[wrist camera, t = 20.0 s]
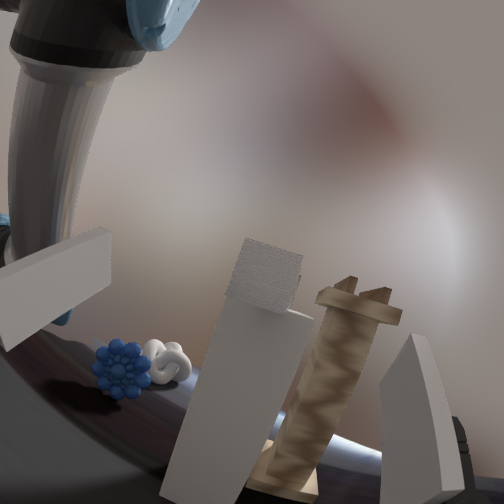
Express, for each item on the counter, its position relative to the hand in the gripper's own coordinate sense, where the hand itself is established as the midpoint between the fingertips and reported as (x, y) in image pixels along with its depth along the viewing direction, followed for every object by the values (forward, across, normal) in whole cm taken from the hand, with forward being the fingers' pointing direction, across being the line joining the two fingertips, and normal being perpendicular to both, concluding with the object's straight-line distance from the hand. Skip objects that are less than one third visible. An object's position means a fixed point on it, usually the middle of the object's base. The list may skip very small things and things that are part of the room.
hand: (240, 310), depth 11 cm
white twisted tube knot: (+29, -20, -47) cm, 59 cm away
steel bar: (+13, 0, -7) cm, 15 cm away
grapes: (+14, -21, -38) cm, 46 cm away
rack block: (+4, 0, -32) cm, 32 cm away
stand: (+13, +10, -37) cm, 41 cm away
